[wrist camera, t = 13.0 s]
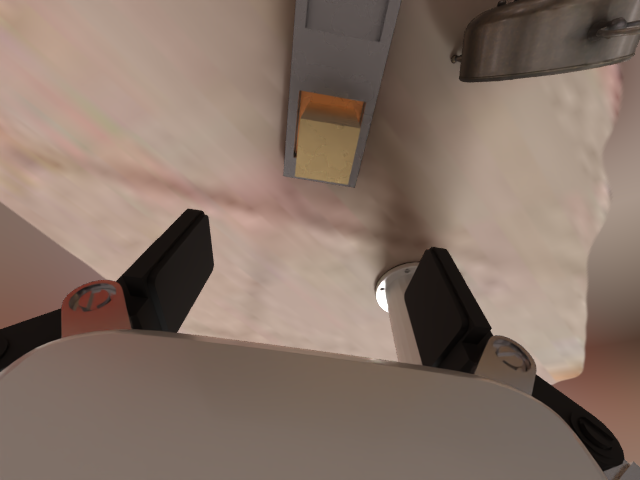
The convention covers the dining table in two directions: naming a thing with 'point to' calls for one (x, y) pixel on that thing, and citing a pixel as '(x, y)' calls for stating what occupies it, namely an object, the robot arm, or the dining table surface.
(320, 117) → the brushed gold block
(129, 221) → the dining table surface
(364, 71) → the divided tray
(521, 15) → the alarm clock
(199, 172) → the dining table surface
